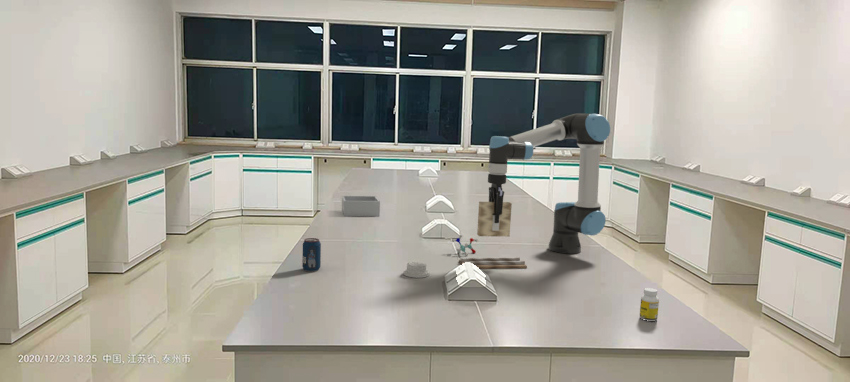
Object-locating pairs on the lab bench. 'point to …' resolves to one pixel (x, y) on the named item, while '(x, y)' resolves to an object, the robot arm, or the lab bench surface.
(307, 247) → the soda can
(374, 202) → the storage crate
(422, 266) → the mechanical component
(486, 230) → the door panel
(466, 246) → the molecular model
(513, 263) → the track board
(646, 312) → the supplement bottle
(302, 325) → the lab bench surface
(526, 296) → the lab bench surface
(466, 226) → the lab bench surface
